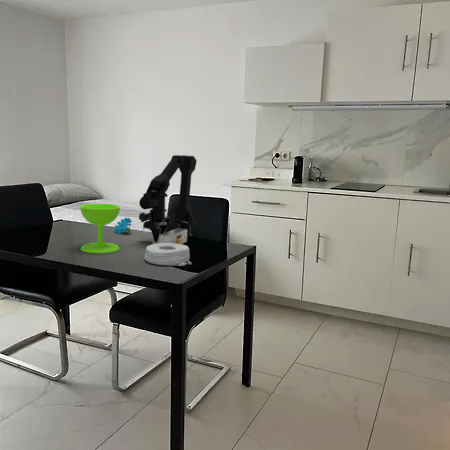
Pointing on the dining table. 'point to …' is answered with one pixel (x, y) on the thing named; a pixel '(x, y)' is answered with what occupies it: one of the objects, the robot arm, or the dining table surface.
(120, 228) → the blue lumpy cluster
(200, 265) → the dining table surface
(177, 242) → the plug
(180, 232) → the grey long block
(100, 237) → the wineglass
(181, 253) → the cable
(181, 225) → the robot arm
